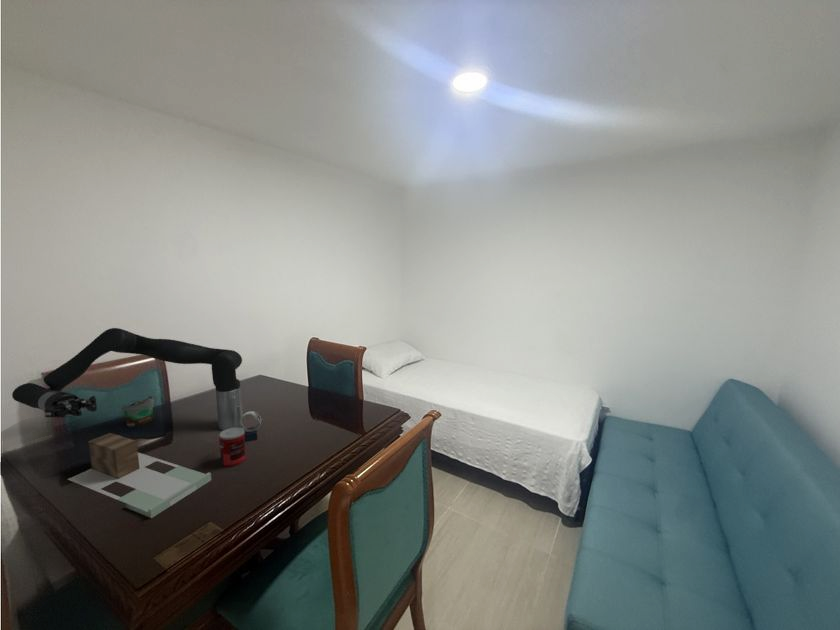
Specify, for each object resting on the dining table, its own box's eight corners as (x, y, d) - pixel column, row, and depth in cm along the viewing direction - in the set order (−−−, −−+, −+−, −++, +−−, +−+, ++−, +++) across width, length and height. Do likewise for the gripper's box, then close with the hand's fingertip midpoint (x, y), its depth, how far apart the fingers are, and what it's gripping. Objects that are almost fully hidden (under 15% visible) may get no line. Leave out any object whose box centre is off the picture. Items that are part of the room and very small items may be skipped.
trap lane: (67, 483, 106) (66, 476, 105) (132, 454, 122) (132, 448, 122) (151, 518, 92) (150, 510, 92) (211, 480, 109) (210, 473, 109)
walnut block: (91, 469, 111) (88, 441, 109) (113, 459, 116) (110, 432, 115) (118, 479, 106) (115, 450, 105) (139, 468, 112) (136, 440, 110)
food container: (135, 430, 140) (133, 407, 138) (123, 428, 141) (121, 406, 140) (163, 417, 152) (161, 396, 150) (152, 416, 153) (150, 395, 152)
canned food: (227, 455, 123) (225, 427, 122) (249, 454, 124) (248, 427, 123) (216, 467, 116) (214, 438, 114) (240, 466, 117) (238, 437, 115)
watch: (262, 438, 136) (261, 413, 134) (240, 443, 132) (238, 416, 130) (262, 432, 141) (261, 407, 139) (240, 436, 137) (239, 411, 135)
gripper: (28, 399, 111) (57, 408, 106) (82, 386, 125) (111, 393, 119) (31, 420, 112) (61, 430, 107) (85, 405, 126) (113, 412, 120)
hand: (87, 410), depth 113 cm, fingers open, 3 cm apart
